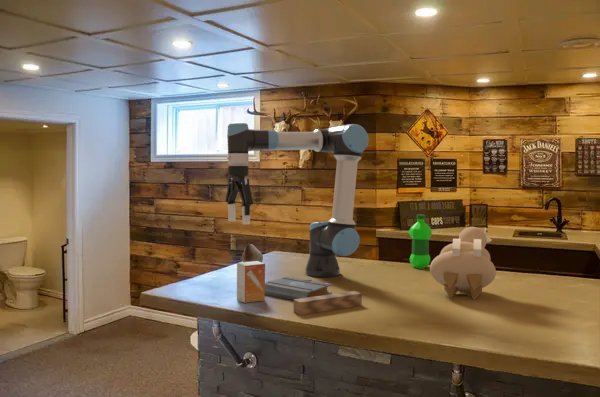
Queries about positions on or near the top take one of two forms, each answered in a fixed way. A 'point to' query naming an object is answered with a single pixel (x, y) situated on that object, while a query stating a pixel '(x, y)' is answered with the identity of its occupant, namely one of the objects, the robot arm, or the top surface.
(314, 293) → the book
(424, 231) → the plastic bottle
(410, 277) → the top surface
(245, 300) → the small box
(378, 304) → the top surface
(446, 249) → the walrus toy
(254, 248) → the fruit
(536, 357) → the top surface
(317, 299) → the rail
